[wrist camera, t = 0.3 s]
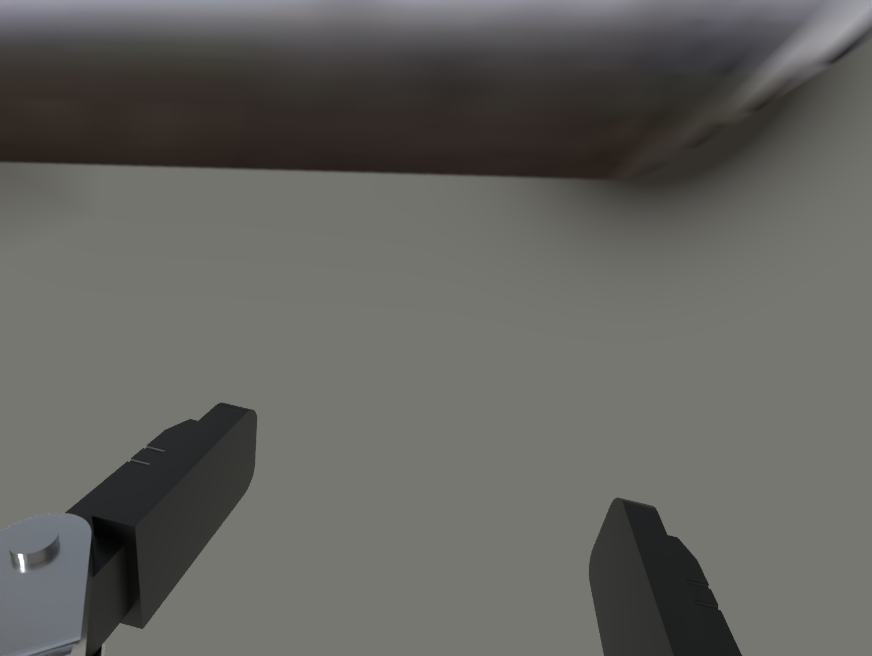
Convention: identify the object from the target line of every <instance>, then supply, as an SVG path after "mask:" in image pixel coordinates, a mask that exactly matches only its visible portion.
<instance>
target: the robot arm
mask: <svg viewBox="0 0 872 656" xmlns="http://www.w3.org/2000/svg"><path fill="white" fill-rule="evenodd" d="M256 429H257V415H256V412H255V411H254V410H251V409H247V408H242V407H238V406H234V405H230V404H226V403H219V404H217V405H216V406H215V407H214V408H212V409H211V410H210V411H209V412H208V413H207V414H205V415H204V416H203V417H202V418H201V419H200V420H199V421H196V420H192V419H189V420H187V421H184V422H182V423H180V424H178V425H175V426H173V427H171V428H169V429H166V430H165V431H163V432H162V433H161V434H160V435H159V436H157V437H156V438H155V439H154V440H152V441H151V442H150V443H149V444H148V445H147V447H146V449H144V448H143V449H142V450H140V451H139V452H138V453H137V454H136V455H134V456H133V457H132V458H131V461H130V462H126V463H125V464H124V465H122V466H121V467H120V468H119V469H117V470H116V471H115V472H114V473H113V474H111V475H110V476H109V477H108V478H107V479H105V480H104V481H103V482H102V483H101V484H99V485H98V486H97V487H96V488H95V489H93V490H92V491H91V492H90V493H89V494H87V495H86V496H85V497H84V498H82V499H81V500H80V501H79V502H78V503H77V504H75V505H74V506H73V507H72V508H70V509H69V510H68V511H67V512H65V513H51V514H43V515H39V516H35V517H31V518H28V519H25V520H22V521H20V522H17V523H15V524H13V525H11V526H9V527H7V528H5V529H3V530H2V531H0V656H105V640H106V639H107V638H108V637H109V636H110V634H111V633H112V632H113V631H114V629H115V628H116V627H117V626H118V624H119V623H122V624H126V625H130V626H134V627H137V628H141V629H143V628H144V627H145V625H146V624H147V622H148V621H149V620H150V619H151V617H152V616H153V615H154V613H155V612H156V611H157V609H158V608H159V607H160V605H161V604H162V603H163V601H164V600H165V599H166V597H167V596H168V595H169V593H170V592H171V591H172V590H173V588H174V587H175V586H176V584H177V583H178V582H179V580H180V579H181V577H182V576H183V575H184V574H185V572H186V571H187V570H188V568H189V567H190V566H191V564H192V563H193V562H194V560H195V559H196V558H197V556H198V555H199V554H200V552H201V551H202V550H203V548H204V547H205V546H206V544H207V543H208V542H209V540H210V539H211V538H212V536H213V535H214V534H215V533H216V531H217V530H218V529H219V527H220V526H221V525H222V523H223V522H224V521H225V519H226V518H227V517H228V515H229V514H230V513H231V511H232V510H233V509H234V507H235V506H236V505H237V503H238V502H239V501H240V499H241V498H242V497H243V495H244V494H245V492H246V491H247V489H248V487H249V484H250V482H251V480H252V477H253V473H254V468H255V450H256ZM589 580H590V586H591V591H592V596H593V601H594V606H595V611H596V617H597V621H598V627H599V632H600V637H601V642H602V647H603V653H604V656H742V655H741V653H740V651H739V648H738V646H737V644H736V642H735V640H734V638H733V636H732V633H731V631H730V629H729V627H728V625H727V623H726V621H725V618H724V616H723V614H722V612H721V611H720V610H718V603H717V601H716V599H715V597H714V595H713V593H712V591H711V589H709V588H708V585H709V584H708V582H707V580H706V578H705V576H704V574H703V571H702V569H701V567H700V565H699V563H698V561H697V559H696V558H695V557H694V556H693V555H692V554H691V552H690V551H689V550H688V549H687V548H686V547H685V546H684V545H683V543H682V542H681V541H680V540H679V539H678V538H677V537H673V536H669V535H667V533H666V531H665V528H664V526H663V524H662V521H661V519H660V516H659V514H658V512H657V510H656V508H655V507H654V506H651V505H647V504H642V503H638V502H634V501H630V500H626V499H621V498H615V499H614V500H613V502H612V503H611V506H610V508H609V510H608V513H607V515H606V518H605V520H604V522H603V525H602V527H601V530H600V532H599V535H598V537H597V540H596V542H595V544H594V547H593V550H592V553H591V557H590V564H589Z"/></svg>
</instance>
